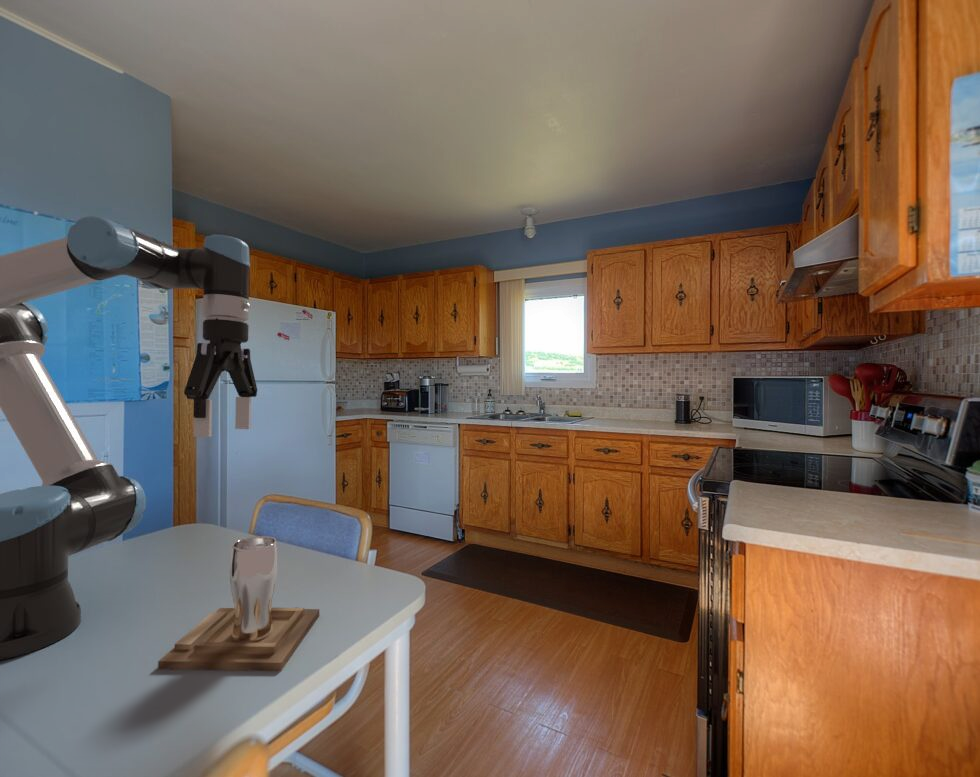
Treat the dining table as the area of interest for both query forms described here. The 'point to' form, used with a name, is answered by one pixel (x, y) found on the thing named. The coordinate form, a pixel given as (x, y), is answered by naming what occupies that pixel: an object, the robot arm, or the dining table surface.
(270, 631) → the beer glass
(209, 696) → the dining table surface
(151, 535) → the dining table surface
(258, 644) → the tray
